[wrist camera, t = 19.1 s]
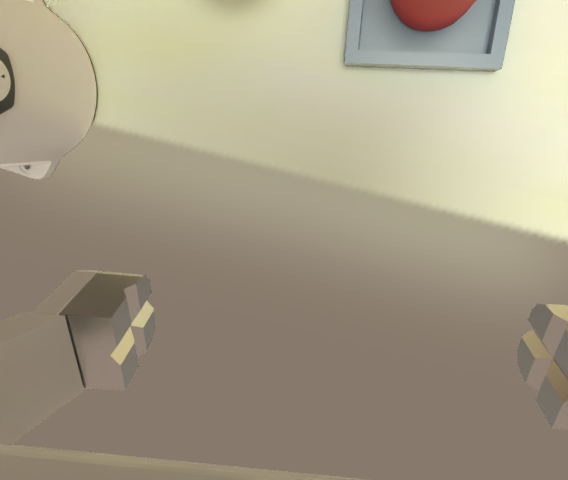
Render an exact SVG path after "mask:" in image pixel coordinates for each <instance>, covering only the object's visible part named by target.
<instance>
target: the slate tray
mask: <svg viewBox="0 0 568 480" xmlns="http://www.w3.org/2000/svg"><path fill="white" fill-rule="evenodd" d="M514 3H515V0H476V2H475V3H474V4H473V5H472V6H471V7H470V9H469V10H468V11H467V12H466V13H465V14H464V15H463V16H462V17H461V18H459V19H458V20H457V21H456V22H455V23H454V24H452V25H450V26H447V27H445V28H443V29H441V30H436V31H428V32H425V31H420V30H416V29H412V28H411V27H409V26H408V25H406V24H405V23H403V22H402V21H401V20H400V19H399V17H398V16H397V15H396V13H395V12H394V10H393V7H392V4H391V1H390V0H350V6H349V17H348V28H347V38H346V49H345V60H344V63H345V65H346V66H367V67H393V68H418V69H444V70H470V71H497V70H500V69H502V66H503V60H504V55H505V50H506V45H507V40H508V34H509V29H510V24H511V19H512V14H513V9H514Z"/></svg>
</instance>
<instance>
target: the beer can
mask: <svg viewBox="0 0 568 480" xmlns="http://www.w3.org/2000/svg"><path fill="white" fill-rule="evenodd" d="M390 1H391V4H392V7H393V10H394V12H395V13H396V15H397V16H398V17H399V19H400V20H401V21H402V22H403V23H405V24H406V25H408V26H409V27H411V28H412V29H416V30H420V31H425V32H428V31H436V30H441V29H443V28H445V27H447V26H450V25H452V24H454V23H455V22H456V21H457V20H458V19H459V18H461V17H462V16H463V15H464V14H465V13H466V12H467V11H468V10H469V9H470V7H471V6H472V5H473V4H474V3H475V2H476V0H390Z"/></svg>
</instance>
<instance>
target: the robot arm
mask: <svg viewBox="0 0 568 480" xmlns="http://www.w3.org/2000/svg"><path fill="white" fill-rule="evenodd" d="M96 97H97V93H96V81H95V76H94V71H93V68H92V64H91V61H90V59H89V56H88V54H87V52H86V50H85V48H84V46H83V44H82V43H81V41H80V40H79V38H78V37H77V35H76V34H75V33H74V32H73V31H72V29H71V28H70V27H69V26H68V25H67V24H66V23H65V22H64V21H62V20H61V19H60V18H59V17H57V16H56V15H55V14H54V13H52V12H51V11H50V10H49V9H48V8H47V7H46V6H45V4H44V2H43V0H0V168H1V169H4V170H8V171H11V172H14V173H17V174H21V175H23V176H27V177H30V178H33V179H37V180H38V179H48V178H49V177H50V176H51V175H52V174H53V172H54V171H55V169H56V167H57V165H58V163H59V161H60V159H61V158H62V157H63V156H64V155H65V154H67V153H68V152H70V151H71V150H72V149H74V148H75V147H76V146H77V145H78V144H79V143H80V142H81V141H82V139H83V138H84V137H85V135H86V134H87V132H88V130H89V128H90V126H91V123H92V121H93V117H94V113H95V108H96ZM29 165H31V168H30V166H29ZM151 293H152V291H151V286H150V280H149V279H148V277H147V276H146V275H135V274H125V273H114V272H103V271H102V272H100V271H91V270H77V271H74V272H73V273H72V274H71V275H70V276H69V277H68V278H67V279H66V280H65V281H64V282H63V283H61V284H60V285H59V286H58V287H57V288H56V289H55V290H54V291H53V292H52V293H51V294H50V295H49V296H48V297H47V298H46V299H45V300H44V301H43V302H42V303H41V304H40V305H39V306H38V307H37V308H36V309H35V310H34V311H33V312H32V313H27V312H23V313H21V314H19V315H16V316H13V317H11V318H9V319H6V320H4V321H1V322H0V480H367V479H356V478H346V477H335V476H326V475H315V474H305V473H295V472H285V471H275V470H264V469H254V468H243V467H233V466H224V465H213V464H203V463H193V462H183V461H172V460H162V459H152V458H141V457H132V456H122V455H112V454H111V455H110V454H101V453H91V452H81V451H71V450H61V449H49V448H40V447H30V446H20V445H11V444H12V443H14V442H15V441H17V440H18V439H19V438H21V437H22V436H23V435H25V434H26V433H27V432H29V431H30V430H31V429H33V428H34V427H36V426H37V425H38V424H39V423H41V422H42V421H44V420H45V419H46V418H48V417H49V416H50V415H52V414H53V413H54V412H55V411H57V410H58V409H60V408H61V407H62V406H64V405H65V404H66V403H68V402H69V401H70V400H72V399H73V398H74V397H76V396H77V395H78V394H80V393H81V392H83V391H84V388H93V389H110V390H111V389H112V390H126V389H127V387H128V385H129V383H130V381H131V379H132V378H133V376H134V374H135V372H136V370H137V369H138V367H139V365H138V359H137V357H138V356H140V355H142V354H143V353H145V352H146V351H147V350H148V348H149V346H150V344H151V342H152V339H153V335H154V330H155V312H154V308H153V307H152V306H151V305H150V304H149V303H148V302H147V299H148V297H149V296H150V294H151ZM528 321H529V323H530V325H531V327H532V330H530V331H529V332H528V333H526V334H525V335H524V336H522V337H521V340H520V343H519V347H518V366H519V369H520V373H521V374H522V376H523V378H524V380H525V382H526V383H527V384H529V385H530V386H532V387H533V388H534V389H536V390H537V391H538V395H537V397H536V401H537V403H538V405H539V407H540V408H541V410H542V412H543V413H544V415H545V417H546V419H547V420H548V422H549V424H550V426H551V427H552V428H556V429H565V430H568V305H553V304H536V306H535V307H534V308H533V309H532V311H531V313H530V316H529V319H528Z"/></svg>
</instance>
